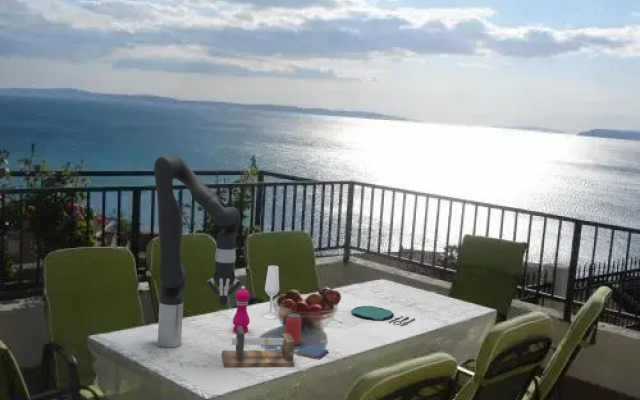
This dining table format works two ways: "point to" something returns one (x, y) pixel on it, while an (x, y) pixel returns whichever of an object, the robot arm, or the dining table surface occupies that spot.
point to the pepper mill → (241, 310)
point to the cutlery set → (377, 314)
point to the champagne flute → (272, 287)
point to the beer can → (294, 327)
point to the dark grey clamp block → (240, 341)
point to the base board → (262, 356)
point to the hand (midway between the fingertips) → (222, 304)
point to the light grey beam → (260, 341)
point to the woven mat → (312, 352)
